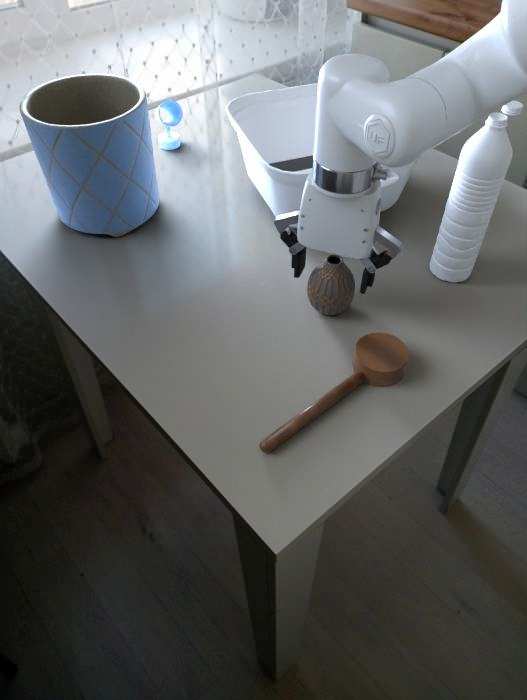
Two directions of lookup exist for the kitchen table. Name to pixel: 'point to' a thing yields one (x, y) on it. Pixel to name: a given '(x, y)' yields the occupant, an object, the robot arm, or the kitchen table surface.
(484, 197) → the water bottle
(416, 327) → the kitchen table surface
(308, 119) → the white plastic wash basin
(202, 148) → the kitchen table surface
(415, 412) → the kitchen table surface
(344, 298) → the vase
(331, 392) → the ladle
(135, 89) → the planter
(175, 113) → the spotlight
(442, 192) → the kitchen table surface
